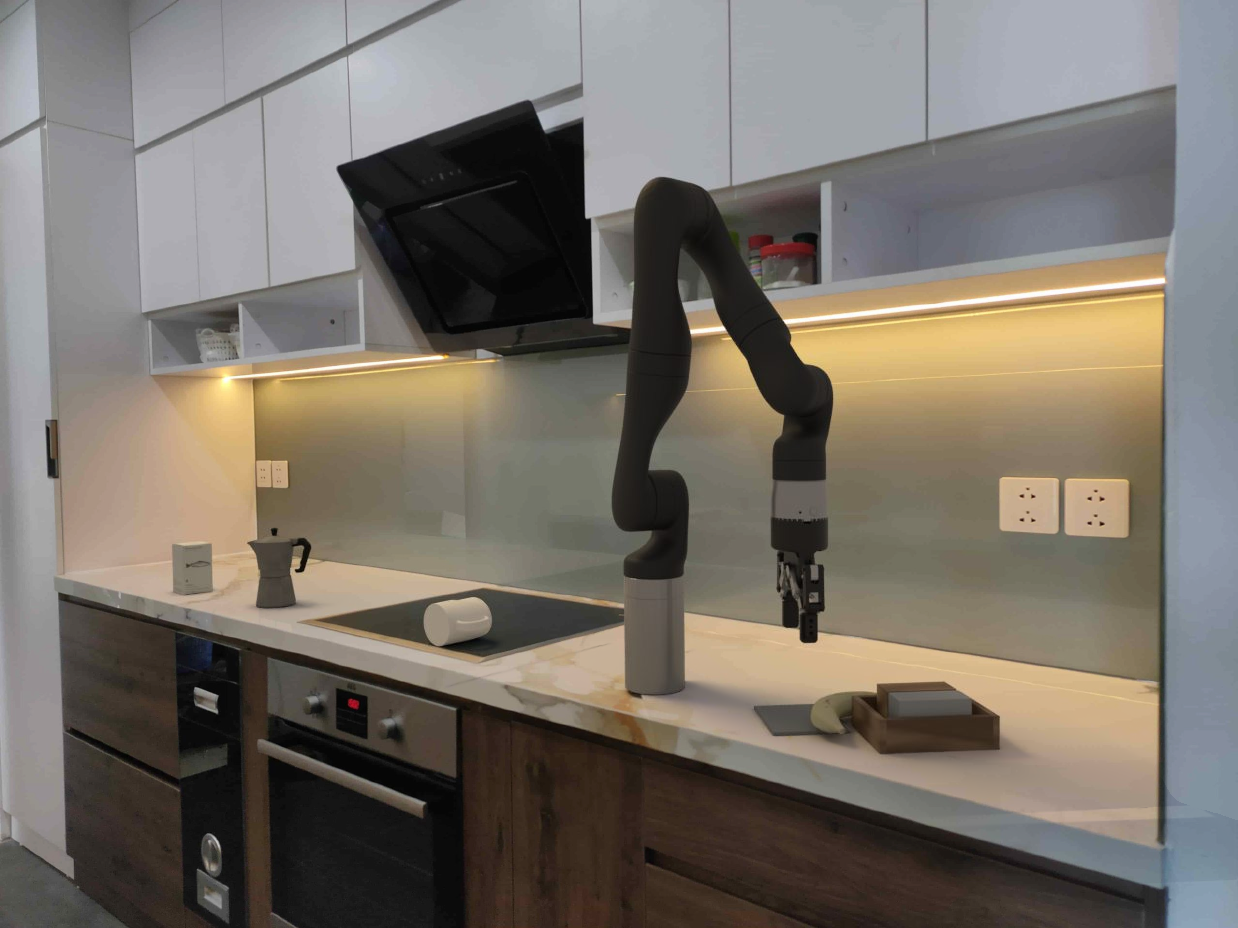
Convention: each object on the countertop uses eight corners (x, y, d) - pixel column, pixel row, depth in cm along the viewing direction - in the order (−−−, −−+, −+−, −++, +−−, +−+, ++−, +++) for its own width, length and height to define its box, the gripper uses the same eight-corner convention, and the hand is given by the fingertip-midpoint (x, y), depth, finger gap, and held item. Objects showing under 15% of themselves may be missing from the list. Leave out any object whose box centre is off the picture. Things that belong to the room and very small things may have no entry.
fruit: (856, 675, 122) (851, 697, 122) (794, 702, 111) (789, 726, 112) (902, 698, 117) (897, 720, 117) (842, 728, 106) (837, 752, 107)
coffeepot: (238, 607, 200) (236, 530, 200) (259, 600, 210) (257, 525, 209) (303, 608, 199) (301, 529, 198) (320, 600, 208) (319, 525, 208)
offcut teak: (876, 729, 113) (876, 683, 113) (944, 726, 113) (944, 681, 113) (887, 738, 109) (887, 691, 109) (956, 735, 110) (956, 688, 110)
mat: (753, 708, 122) (753, 705, 121) (823, 706, 122) (823, 703, 122) (773, 735, 111) (773, 732, 111) (850, 732, 111) (849, 729, 111)
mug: (421, 642, 164) (420, 600, 164) (461, 633, 171) (460, 593, 171) (461, 652, 156) (460, 608, 156) (501, 642, 163) (500, 600, 163)
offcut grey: (888, 739, 109) (888, 692, 109) (958, 737, 109) (958, 690, 109) (899, 749, 105) (899, 701, 105) (971, 747, 106) (971, 698, 106)
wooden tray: (851, 725, 114) (851, 695, 114) (961, 721, 115) (961, 691, 115) (880, 753, 104) (879, 720, 104) (999, 748, 105) (999, 716, 105)
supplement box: (183, 595, 217) (182, 545, 217) (172, 592, 222) (171, 543, 222) (213, 591, 222) (212, 542, 222) (202, 588, 228) (201, 540, 227)
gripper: (758, 509, 122) (759, 623, 123) (785, 519, 108) (786, 648, 109) (811, 508, 123) (811, 622, 124) (844, 518, 109) (844, 647, 109)
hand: (799, 634), depth 116 cm, fingers open, 8 cm apart
